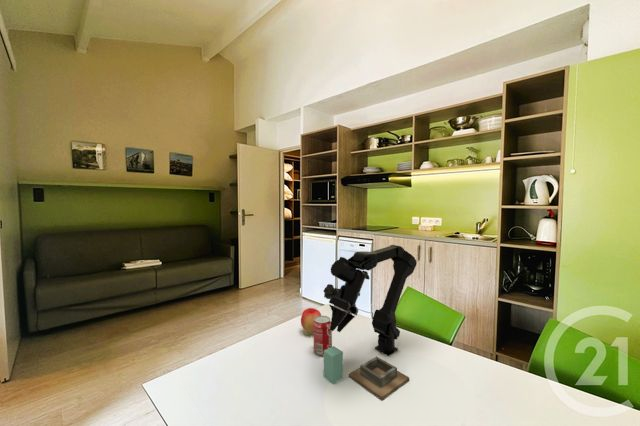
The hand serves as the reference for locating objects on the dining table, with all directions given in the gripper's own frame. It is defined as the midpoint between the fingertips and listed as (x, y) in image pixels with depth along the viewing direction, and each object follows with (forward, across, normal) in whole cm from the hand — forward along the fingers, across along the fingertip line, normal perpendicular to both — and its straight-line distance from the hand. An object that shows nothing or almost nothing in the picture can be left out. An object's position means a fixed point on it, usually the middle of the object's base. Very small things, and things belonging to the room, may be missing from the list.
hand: (335, 331), depth 91 cm
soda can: (+10, -19, -6) cm, 22 cm away
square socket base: (+8, -11, +17) cm, 21 cm away
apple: (+7, -31, -17) cm, 36 cm away
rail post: (+14, -7, +4) cm, 16 cm away
